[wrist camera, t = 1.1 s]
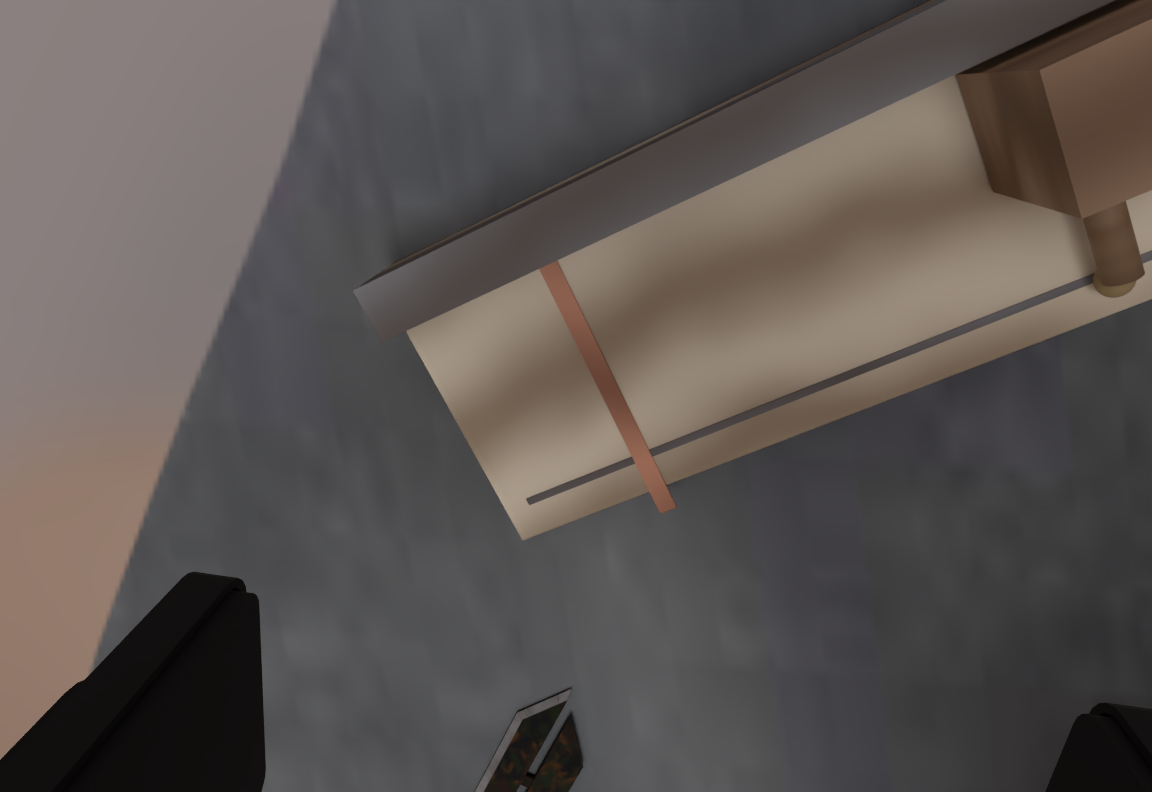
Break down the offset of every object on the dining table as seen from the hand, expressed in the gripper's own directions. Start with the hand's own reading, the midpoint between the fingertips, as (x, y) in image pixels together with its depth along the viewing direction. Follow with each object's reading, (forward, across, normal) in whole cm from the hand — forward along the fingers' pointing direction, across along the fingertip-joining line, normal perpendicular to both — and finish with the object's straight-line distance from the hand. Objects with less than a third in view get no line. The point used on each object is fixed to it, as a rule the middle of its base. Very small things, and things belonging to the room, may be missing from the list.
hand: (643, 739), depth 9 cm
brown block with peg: (+21, -13, -6) cm, 26 cm away
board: (+23, -5, -2) cm, 24 cm away
